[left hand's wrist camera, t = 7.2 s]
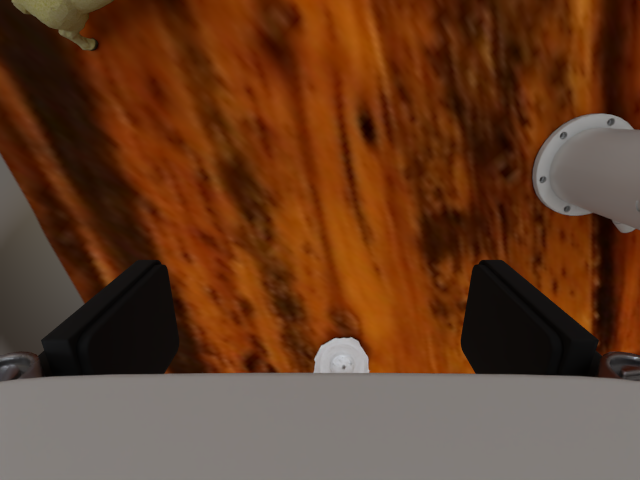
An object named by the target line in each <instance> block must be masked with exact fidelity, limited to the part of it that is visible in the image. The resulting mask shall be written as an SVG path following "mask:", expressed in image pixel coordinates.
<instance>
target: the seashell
mask: <svg viewBox="0 0 640 480" xmlns="http://www.w3.org/2000/svg"><path fill="white" fill-rule="evenodd" d="M314 360H315V370H314V373H369V369H368V356H367V355H366V354H365V352H364V350H363V349H362V347H361V346H360V344H359V341H357V340H355V339H353V338H352V337H351V338H340V339H339V338H334V339H333V340H331V341H329V342H327V343H326V344H324V345H321V347H320V349H319V351H318V353H317V355H316V357H315V359H314Z"/></svg>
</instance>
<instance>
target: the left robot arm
mask: <svg viewBox="0 0 640 480" xmlns="http://www.w3.org/2000/svg"><path fill="white" fill-rule="evenodd" d="M560 134H561V135H560ZM532 179H533V186H534V189H535V192H536V195H537V196H538V198H539V199H540V201H541V202H542V203H543V204H544V205H545V206H547V207H548V208H550V209H552V210H553V211H556V212H558V213H561V214H565V215H570V216H580V215H586V214H590V213H596V214H599V215H601V216H604V217H606V218H609V219H612V221H613V223H614V225H615V226H616V227H617V228H618V230H619V231H620V232H622V233H628V232H631V231H633V230H635V229H638V230H640V130H634V129H633V128H632V127H631V125H630V124H629V123H628V122H626V121H625V120H623V119H622V118H620V117H617V116H614V115H609V114H588V115H583V116H580V117H577V118H575V119H572V120H570V121H568V122H567V123H565V124H563V125H562V126H560V127H559V128H558V129H557V130H555V131H554V132H553V133H552V134H551V135H550V136H549V138H548V139H547V140H546V141H545V142H544V144H543V145H542V147H541V149H540V150H539V152H538V155H537V157H536V159H535V163H534V167H533V177H532ZM41 341H42V345H43V348H44V351H43V352H42V353H41V354H40V355H39V356H37V355H36V354H34V353H31V352H14V353H8V354H4V355H0V480H640V355H636V354H632V353H626V352H609V353H606V354H604V355H603V356H601V355H600V354H599V353H598V352H597V351H596V348H597V345H598V342H599V340H598V339H597V338H596V337H594V336H593V335H592V334H591V333H589V332H588V331H587V330H586V329H585V328H583V327H582V326H581V325H580V324H579V323H577V322H576V321H575V320H574V319H573V318H571V317H570V316H569V315H568V314H567V313H565V312H564V311H563V310H562V309H561V308H559V307H558V306H557V305H556V304H555V303H553V302H552V301H551V300H550V299H548V298H547V297H546V296H545V295H544V294H542V293H541V292H540V291H539V290H538V289H536V288H535V287H534V286H533V285H532V284H530V283H529V282H528V281H527V280H526V279H524V278H523V277H522V276H521V275H520V274H518V273H517V272H516V271H515V270H514V269H512V268H511V267H510V266H509V265H508V264H506V263H505V262H504V261H502V260H481V261H480V262H479V264H478V265H475V266H474V267H473V270H472V275H471V281H470V287H469V293H468V299H467V305H466V311H465V317H464V323H463V329H462V335H461V347H462V351H463V353H464V354H465V356H466V358H467V359H468V361H469V363H470V365H471V366H472V368H473V370H474V371H475V373H476V374H423V373H210V374H164V373H165V371H166V370H167V368H168V366H169V365H170V363H171V361H172V359H173V358H174V356H175V354H176V353H177V351H178V347H179V335H178V329H177V323H176V317H175V311H174V305H173V299H172V293H171V287H170V281H169V275H168V270H167V267H166V266H165V265H162V264H161V262H160V261H159V260H138V261H136V262H135V263H134V264H132V265H131V266H130V267H129V268H128V269H126V270H125V271H124V272H123V273H122V274H120V275H119V276H118V277H117V278H116V279H114V280H113V281H112V282H111V283H110V284H108V285H107V286H106V287H105V288H104V289H102V290H101V291H100V292H99V293H98V294H96V295H95V296H94V297H93V298H92V299H90V300H89V301H88V302H87V303H85V304H84V305H83V306H82V307H81V308H79V309H78V310H77V311H76V312H75V313H73V314H72V315H71V316H70V317H69V318H67V319H66V320H65V321H64V322H63V323H61V324H60V325H59V326H58V327H57V328H55V329H54V330H53V331H52V332H51V333H49V334H48V335H47V336H46V337H44V338H43V339H42V340H41Z"/></svg>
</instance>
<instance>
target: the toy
mask: <svg viewBox="0 0 640 480" xmlns="http://www.w3.org/2000/svg"><path fill="white" fill-rule="evenodd" d="M112 1H114V0H12V3H13V4H14V5H15V7H16V8H18V9H19V10H20V11H21V12H23V13H24V14H32V15H34V16H36V17H37V18H38V19H39V20H40V21H41V22H43V23H44V24H46V25H47V26H49V27H51V28H54V29H59V33H60V35H62V36H64V37H66V38H68V39H70V40H72V41H73V42H75V43H76V44H78V45H79V46H80V47H81V48H82V49H83V50H95V49H96V48H97V45H98V42H97V41H96V40H95V39H93V38H92V39H88V38H85V37H82V36H81V35H80V34H79V32H80V31H81V30H82V29H83V28H84V26H85V23H86V21H87V20H88V18H89V13H90V12H92V11H95V10H97V9H100V8H102V7H104V6H105V5H107V4H109V3H111V2H112Z"/></svg>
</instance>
